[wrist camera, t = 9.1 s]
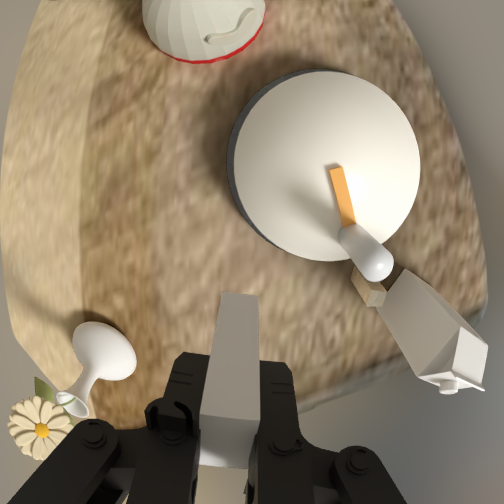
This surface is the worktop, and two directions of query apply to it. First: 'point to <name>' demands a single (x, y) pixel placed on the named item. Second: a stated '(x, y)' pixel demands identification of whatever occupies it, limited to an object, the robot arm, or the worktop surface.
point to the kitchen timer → (202, 27)
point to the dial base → (367, 289)
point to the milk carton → (433, 335)
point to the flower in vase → (70, 390)
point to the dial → (328, 169)
